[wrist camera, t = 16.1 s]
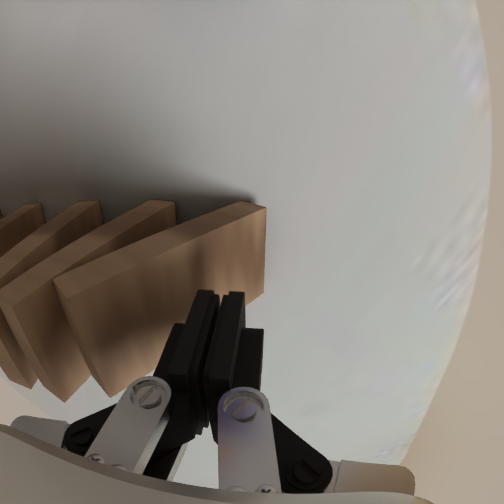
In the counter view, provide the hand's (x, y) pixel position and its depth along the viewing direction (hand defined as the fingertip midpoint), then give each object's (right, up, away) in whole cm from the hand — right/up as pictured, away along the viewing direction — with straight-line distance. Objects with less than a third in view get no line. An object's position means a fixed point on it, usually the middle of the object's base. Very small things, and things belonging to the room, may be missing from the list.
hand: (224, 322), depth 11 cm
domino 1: (+1, +3, +5) cm, 6 cm away
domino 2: (-4, +3, +6) cm, 8 cm away
